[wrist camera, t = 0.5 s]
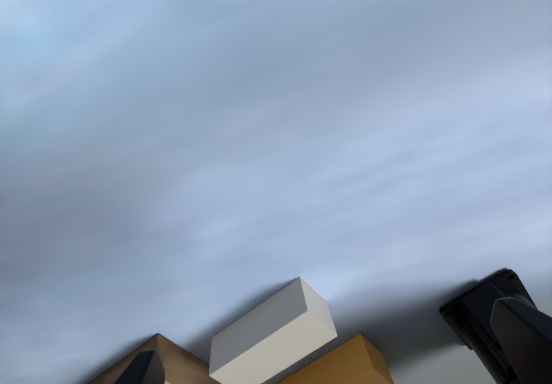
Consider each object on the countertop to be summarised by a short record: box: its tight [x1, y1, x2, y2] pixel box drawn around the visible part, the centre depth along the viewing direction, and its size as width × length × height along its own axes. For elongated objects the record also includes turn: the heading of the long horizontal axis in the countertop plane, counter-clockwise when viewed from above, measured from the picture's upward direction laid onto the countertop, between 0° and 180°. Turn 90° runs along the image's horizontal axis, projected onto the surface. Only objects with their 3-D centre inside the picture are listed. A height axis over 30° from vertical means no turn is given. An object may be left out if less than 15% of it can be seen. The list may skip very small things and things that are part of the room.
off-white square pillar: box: [209, 277, 337, 384], centre depth 26 cm, size 9×4×4 cm, turn 130°
